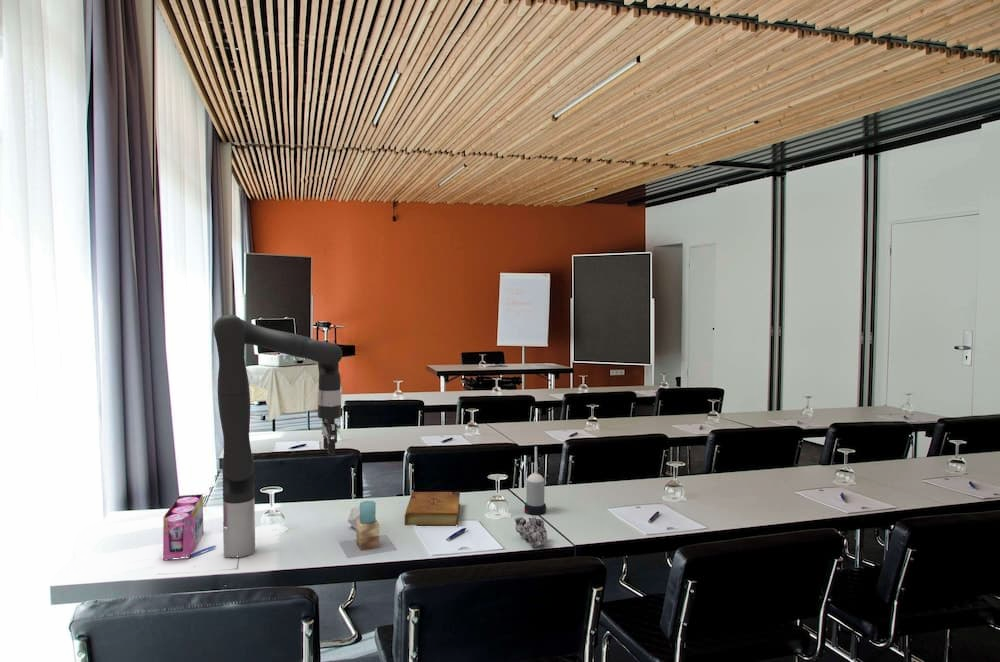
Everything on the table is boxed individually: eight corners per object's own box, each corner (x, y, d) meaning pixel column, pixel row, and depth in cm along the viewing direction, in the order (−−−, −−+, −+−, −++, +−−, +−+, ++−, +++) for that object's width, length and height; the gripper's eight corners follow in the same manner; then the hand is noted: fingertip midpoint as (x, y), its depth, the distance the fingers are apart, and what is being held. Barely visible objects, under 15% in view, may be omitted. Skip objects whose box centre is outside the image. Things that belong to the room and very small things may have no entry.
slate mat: (347, 559, 205) (347, 557, 205) (338, 543, 218) (338, 542, 218) (397, 551, 212) (397, 549, 212) (386, 536, 224) (386, 534, 224)
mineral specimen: (511, 523, 226) (524, 502, 221) (537, 531, 229) (551, 510, 224) (513, 554, 215) (527, 533, 210) (540, 562, 218) (555, 541, 213)
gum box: (189, 560, 203) (188, 517, 203) (161, 563, 202) (160, 519, 201) (204, 532, 227) (203, 493, 226) (178, 534, 225) (178, 495, 224)
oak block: (360, 538, 211) (360, 526, 210) (356, 532, 216) (356, 520, 216) (379, 535, 213) (379, 523, 213) (374, 529, 218) (374, 517, 218)
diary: (411, 506, 257) (411, 491, 256) (459, 506, 257) (459, 491, 257) (404, 528, 234) (404, 512, 234) (457, 527, 234) (457, 511, 234)
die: (367, 523, 238) (350, 503, 236) (383, 516, 234) (366, 495, 232) (356, 539, 231) (338, 518, 229) (372, 531, 227) (354, 510, 225)
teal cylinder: (361, 525, 211) (361, 506, 211) (358, 520, 216) (358, 502, 215) (377, 523, 213) (377, 504, 213) (373, 518, 218) (373, 500, 217)
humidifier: (522, 514, 248) (522, 448, 246) (527, 507, 256) (528, 443, 254) (543, 516, 245) (544, 449, 244) (548, 509, 253) (549, 445, 252)
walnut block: (360, 550, 211) (360, 538, 211) (356, 544, 216) (356, 532, 216) (379, 547, 213) (379, 535, 213) (374, 541, 219) (374, 529, 218)
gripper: (314, 400, 223) (314, 447, 224) (321, 407, 210) (321, 457, 211) (337, 399, 226) (336, 446, 227) (345, 406, 214) (344, 455, 214)
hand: (329, 451), depth 219 cm, fingers open, 8 cm apart
